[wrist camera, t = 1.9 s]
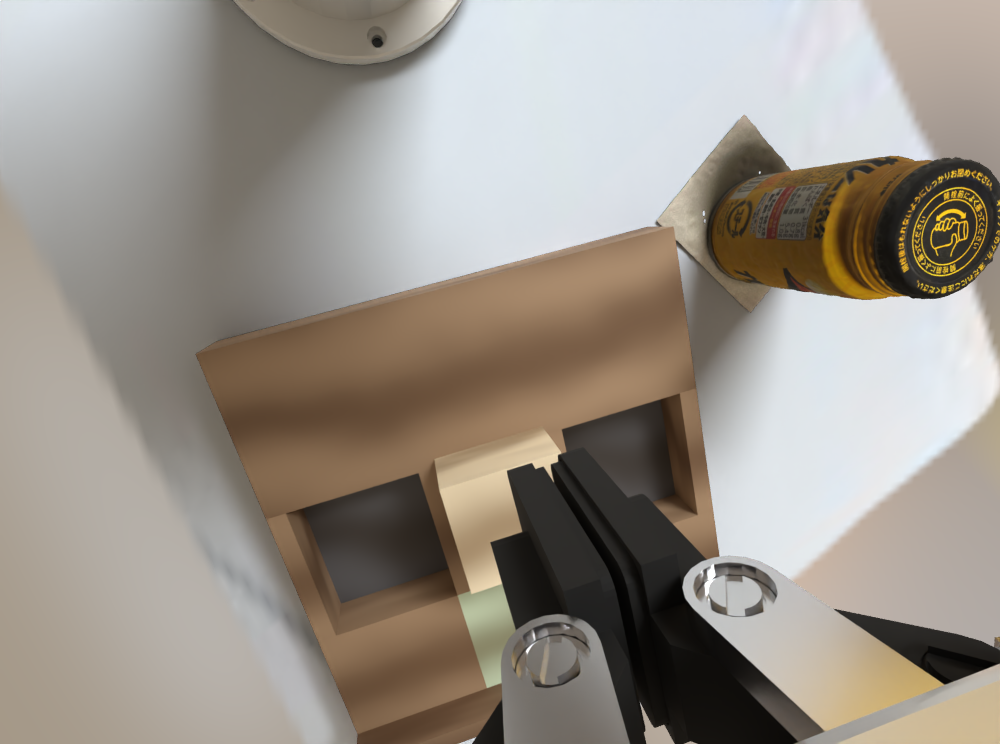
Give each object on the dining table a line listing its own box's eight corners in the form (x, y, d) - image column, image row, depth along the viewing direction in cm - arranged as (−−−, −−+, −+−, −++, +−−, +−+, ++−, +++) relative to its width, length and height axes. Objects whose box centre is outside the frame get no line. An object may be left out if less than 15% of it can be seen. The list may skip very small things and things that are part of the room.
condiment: (748, 312, 33) (936, 355, 21) (655, 220, 30) (811, 213, 19) (828, 216, 32) (1066, 208, 21) (740, 115, 30) (955, 41, 18)
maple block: (434, 459, 28) (439, 489, 25) (542, 426, 29) (561, 452, 25) (463, 553, 30) (471, 594, 26) (564, 520, 30) (584, 556, 27)
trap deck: (216, 341, 27) (178, 364, 23) (647, 226, 30) (694, 225, 25) (365, 703, 35) (360, 779, 30) (702, 586, 37) (746, 637, 33)
